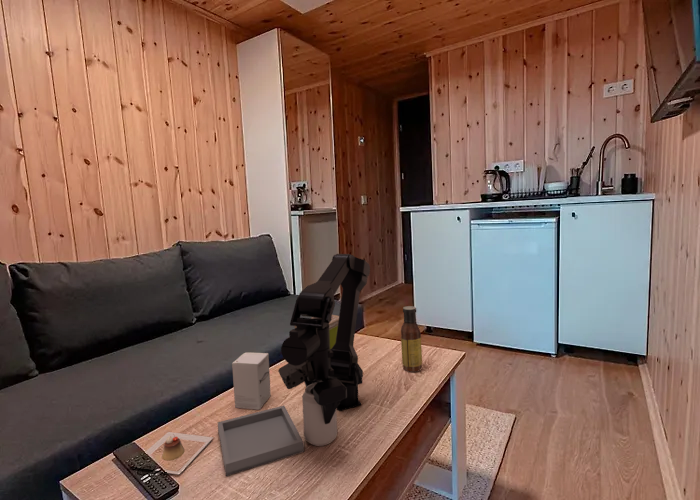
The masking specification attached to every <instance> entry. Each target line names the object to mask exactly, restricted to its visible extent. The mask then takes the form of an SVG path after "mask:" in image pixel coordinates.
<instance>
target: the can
mask: <svg viewBox="0 0 700 500" xmlns="http://www.w3.org/2000/svg"><path fill="white" fill-rule="evenodd" d="M317 383H318V382H317ZM317 383H313V384H310V385H308V386H307V387H306V386H305V389H304V392H303V394H302V398H301V399H302V417H303V418H302V419H303V421H302V422H303V436H304V439H305V441H306V442H307V443H308V444H311V445H312V446H315V447H316V446H317V447H323V446H326V445H329V444H331V442H333V441H334V440H335V439H336V437H338V436H337V435H338V419H337V410H336V411H335V413H334V415H333V417H332V419H331V421H330V423H329V424H325V423H324V419H323V414H322V409H321V405H319V404H317V402H316V401H315V399H314V394H313V388H314V386H315V385H316V384H317Z"/></svg>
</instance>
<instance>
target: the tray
mask: <svg viewBox="0 0 700 500" xmlns="http://www.w3.org/2000/svg"><path fill="white" fill-rule="evenodd" d="M217 431H218V432H217V433H218V438H219V444H220V450H221V454H222V460H223V461H222V462H223V467H224V472H225V477H228V476H229V477H230V476H231V475H236V474H238V473H241V472H244V471H247V470H250V469H254V468H257V467H260V466H264V465H267V464H270V463H273V462H276V461H279V460H283V459H286V458H289V457H292V456H295V455H298V454H301V453H304V452H305V451H304V450H305V447H304V439H303V437H302V436H301V434H300V432H299V430H298V428H297V427H296V425H295V423H294V421H293V419H292V417H291V415H290V414H289V412H288V409H287V408H286V405H279V406H275V407H273V408H269V409H264V410H260V411H257V412H252V413H249V414H245V415H241V416H237V417H233V418H229V419H225V420H221V421H218V422H217Z"/></svg>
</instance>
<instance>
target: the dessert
mask: <svg viewBox="0 0 700 500" xmlns="http://www.w3.org/2000/svg"><path fill="white" fill-rule="evenodd" d="M213 439H214V437H213V436H206V435H196V434H187V433H182V432H181V433H180V432H171V431H168V432H166V433H165V434H164V435H163V436H162V437H161V438H160V439H158V440H157V441H156V442H155V443H153V444H152V445H151V446H150V447H149V448H147V450H146V451H145V453H146V454H148V455H149V457H150V456H151V455H152V454H153V453H154V452H156V450H157V449H159V448H160V447H161V446H162V445H163V444H164V445H163V450H162V454H161V459H162V460H163V461H166V462H169V461H175V460H177V459H179V458H181V457H182V456H183V455H184V453H185V452H186V449H185V448H184V445H183V443H182V441H181V440H183V441H192V442H200V443H203V445H202V446H201V447H200V448H198V450H197V451H196V452H195V453H194V454H193V455H192V456H191V457H190V459H188V461H187V462H186V463H185V464H184V465H182V467H181V468H180V469H179V470H177V471H176V470H175V471H174V470H168V469H164V470H165V472H167V473H166V474H172V475H178V476H179V475H180V474H181V473H182V472H184V470H185V469H186V468H187V467H188V466H189V464H190V463H191V462H192V461H193V460H194V459H195V458H197V456H198V455H199V454H200V453H201V452H202V451H203V450H204V448H206V447H207V445H209V443H210V442H212V440H213Z"/></svg>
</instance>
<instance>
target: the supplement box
mask: <svg viewBox="0 0 700 500" xmlns="http://www.w3.org/2000/svg"><path fill="white" fill-rule="evenodd" d="M269 358H270V357H269V353H268V352H266V353H265V352H244V353H242V354H241V355H240V356H239V357H237V358H236V360H234V361H233V362H232V363H231V366H232V381H233V383H232V384H233V393H234V394H233V396H234V408H235V409H236V408H237V409H244V410H257V411H259V410H260V411H261V409H262V407H263V406H264V405H265V403H266V402H267V401H268V399H270V397H271V396H272V395H271V394H272V393H271V377H270V376H271V375H270V373H271V372H270V361H269Z"/></svg>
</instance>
